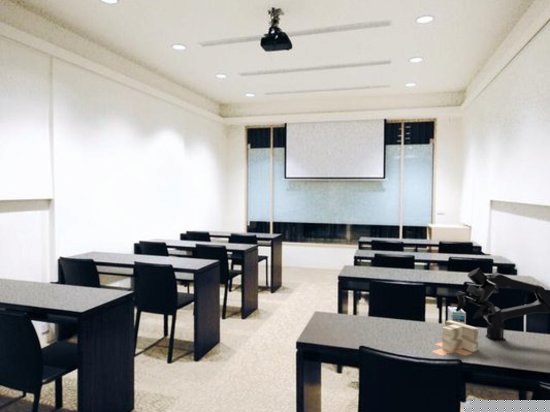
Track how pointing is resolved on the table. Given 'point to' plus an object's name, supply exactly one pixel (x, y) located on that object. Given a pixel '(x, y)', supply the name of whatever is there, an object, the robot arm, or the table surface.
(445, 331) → the beige stepped block
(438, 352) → the t mark
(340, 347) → the table surface
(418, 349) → the table surface
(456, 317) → the light bulb box
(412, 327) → the table surface
